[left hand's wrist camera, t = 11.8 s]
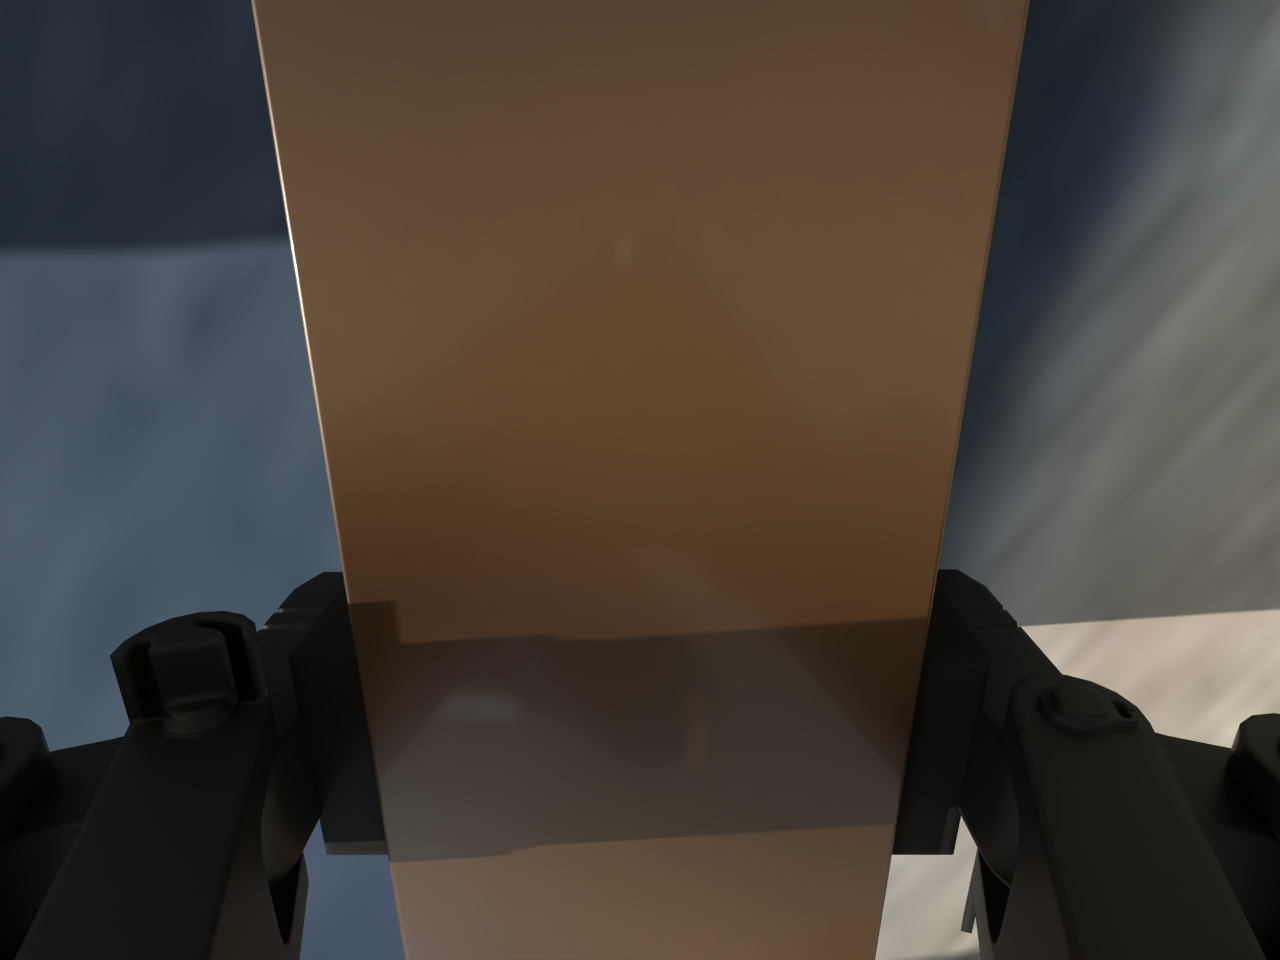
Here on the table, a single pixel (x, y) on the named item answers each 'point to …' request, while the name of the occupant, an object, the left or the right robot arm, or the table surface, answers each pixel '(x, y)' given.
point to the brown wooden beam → (640, 440)
